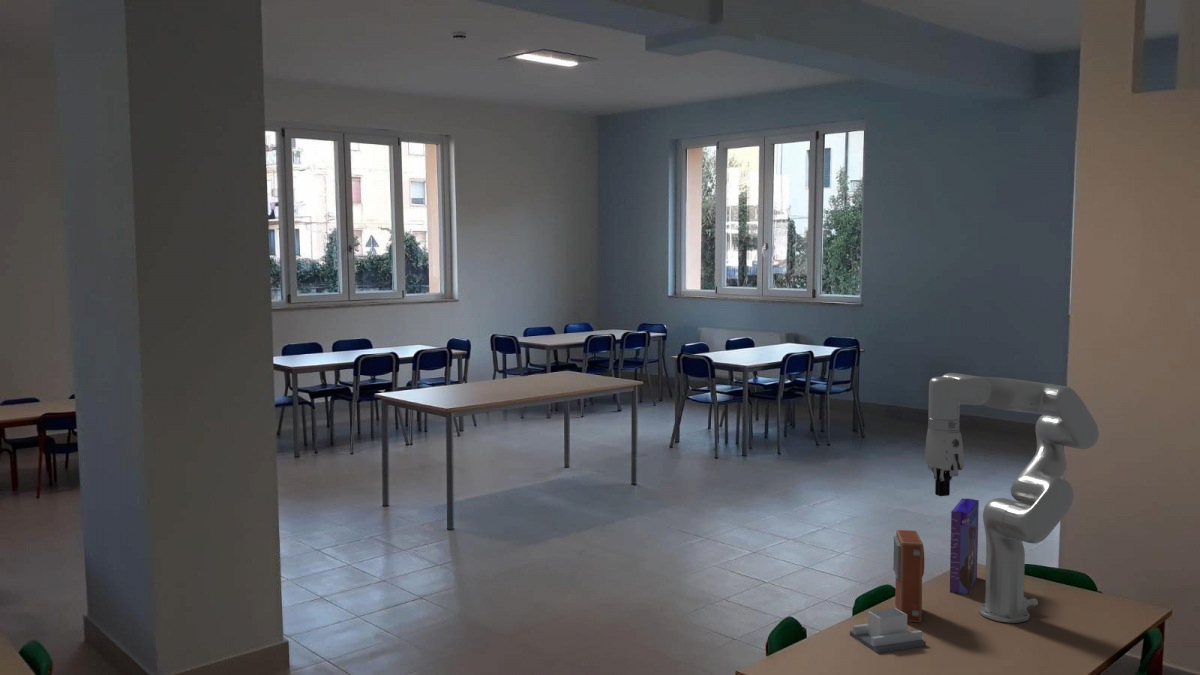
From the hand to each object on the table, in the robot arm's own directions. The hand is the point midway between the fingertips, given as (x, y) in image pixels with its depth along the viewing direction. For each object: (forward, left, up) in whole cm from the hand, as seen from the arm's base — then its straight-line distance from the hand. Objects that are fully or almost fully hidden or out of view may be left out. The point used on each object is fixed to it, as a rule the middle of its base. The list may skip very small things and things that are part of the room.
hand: (942, 495), depth 242 cm
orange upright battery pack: (+2, -11, -35) cm, 37 cm away
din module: (+18, +3, -34) cm, 39 cm away
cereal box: (-28, -26, -35) cm, 52 cm away
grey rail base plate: (+18, +3, -35) cm, 40 cm away
